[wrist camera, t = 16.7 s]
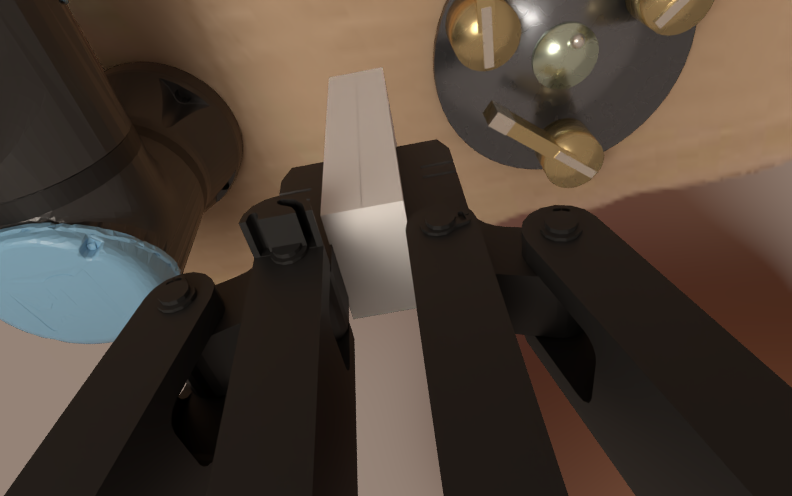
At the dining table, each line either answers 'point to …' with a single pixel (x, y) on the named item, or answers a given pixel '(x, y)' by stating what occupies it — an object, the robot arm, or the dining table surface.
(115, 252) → the robot arm
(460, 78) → the plate
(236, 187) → the dining table surface
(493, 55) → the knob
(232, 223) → the dining table surface
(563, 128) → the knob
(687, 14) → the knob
